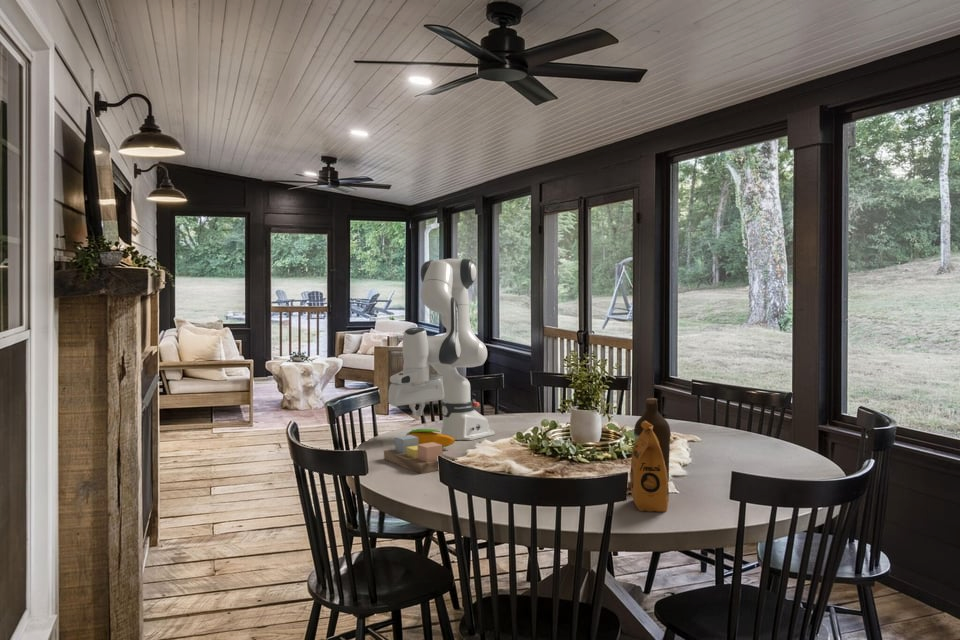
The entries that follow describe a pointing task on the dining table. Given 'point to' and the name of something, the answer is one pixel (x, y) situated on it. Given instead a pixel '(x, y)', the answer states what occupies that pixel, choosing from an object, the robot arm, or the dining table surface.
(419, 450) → the pad terracotta
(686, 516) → the dining table surface
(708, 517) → the dining table surface
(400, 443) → the pad slate
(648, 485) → the coffee package
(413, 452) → the pad mustard
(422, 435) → the corn
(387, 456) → the button board
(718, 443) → the dining table surface
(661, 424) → the olive oil
